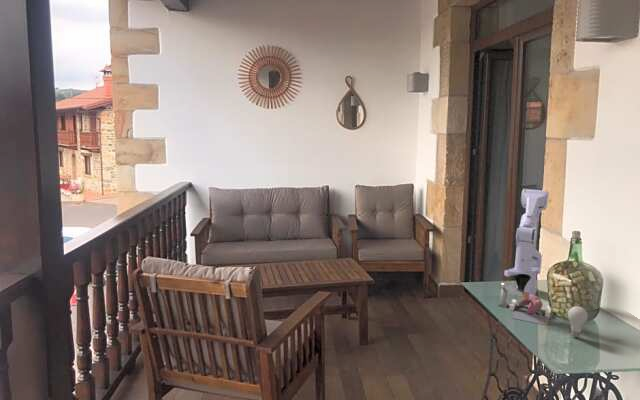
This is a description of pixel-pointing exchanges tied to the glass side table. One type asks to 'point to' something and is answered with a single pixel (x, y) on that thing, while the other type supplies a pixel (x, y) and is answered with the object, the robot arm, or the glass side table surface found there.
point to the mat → (530, 317)
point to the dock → (504, 303)
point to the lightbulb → (577, 319)
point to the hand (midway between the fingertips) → (520, 292)
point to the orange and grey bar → (514, 290)
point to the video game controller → (532, 304)
